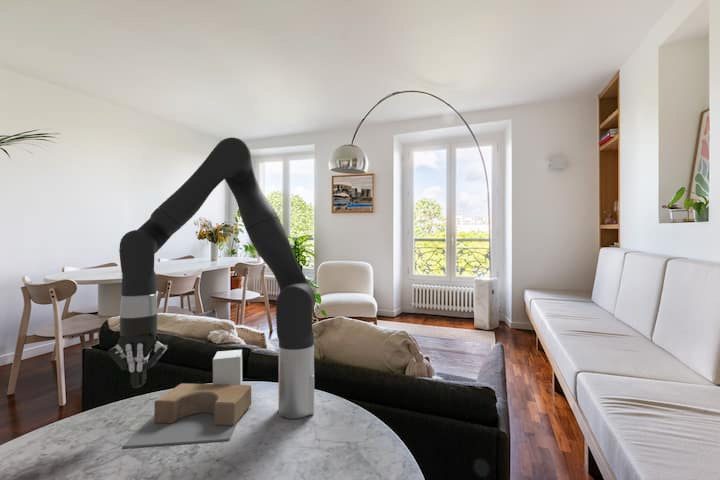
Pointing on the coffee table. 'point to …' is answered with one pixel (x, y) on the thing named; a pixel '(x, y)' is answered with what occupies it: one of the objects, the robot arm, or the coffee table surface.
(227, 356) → the supplement box
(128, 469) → the coffee table surface
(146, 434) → the mat
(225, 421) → the decorative block
